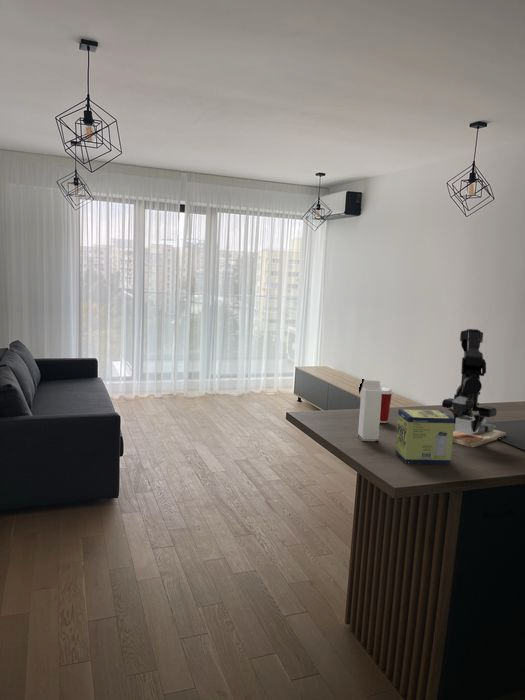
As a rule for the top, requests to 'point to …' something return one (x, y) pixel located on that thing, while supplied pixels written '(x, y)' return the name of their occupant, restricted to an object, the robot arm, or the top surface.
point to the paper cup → (385, 403)
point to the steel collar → (465, 424)
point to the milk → (370, 410)
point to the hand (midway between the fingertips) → (466, 429)
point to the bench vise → (484, 427)
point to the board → (476, 438)
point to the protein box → (424, 436)
